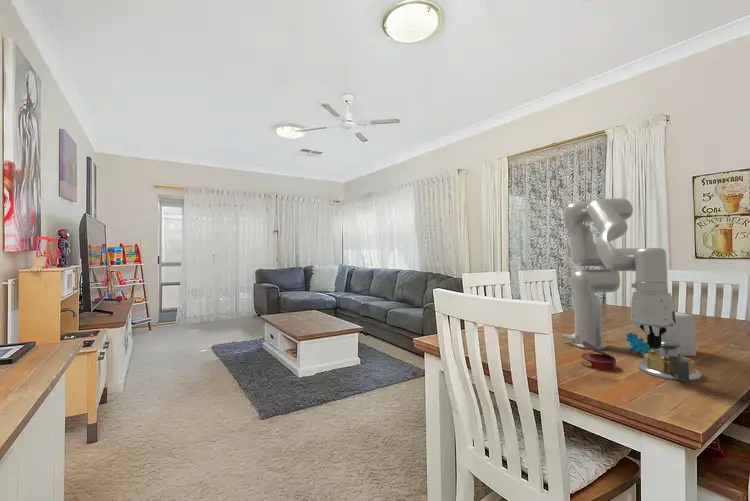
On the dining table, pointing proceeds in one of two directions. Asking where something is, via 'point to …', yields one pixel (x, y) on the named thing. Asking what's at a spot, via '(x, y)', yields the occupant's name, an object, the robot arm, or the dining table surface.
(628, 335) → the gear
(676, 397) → the dining table surface
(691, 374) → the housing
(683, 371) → the ring nut
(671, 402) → the dining table surface
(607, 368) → the canned food
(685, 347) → the supplement box
